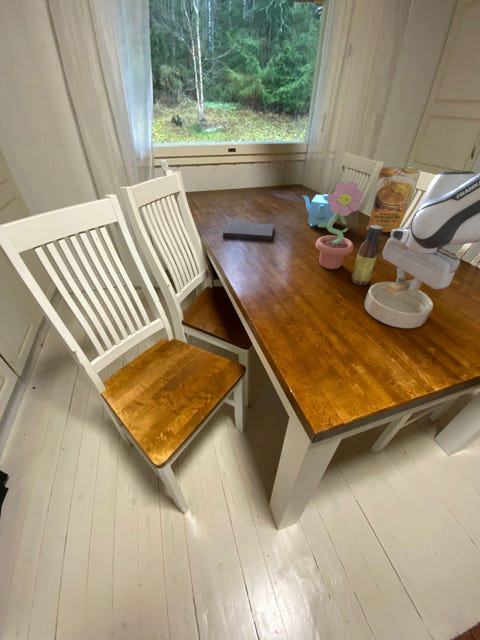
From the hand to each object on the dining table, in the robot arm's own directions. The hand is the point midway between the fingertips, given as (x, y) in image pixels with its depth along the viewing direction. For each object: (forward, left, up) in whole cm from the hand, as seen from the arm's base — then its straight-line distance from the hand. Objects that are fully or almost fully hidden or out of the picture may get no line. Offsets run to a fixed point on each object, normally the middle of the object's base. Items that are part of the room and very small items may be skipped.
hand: (404, 285), depth 79 cm
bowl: (0, 0, -9) cm, 9 cm away
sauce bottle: (+14, -12, -9) cm, 21 cm away
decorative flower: (+28, -18, -9) cm, 35 cm away
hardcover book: (+72, -27, -9) cm, 77 cm away
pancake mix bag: (+20, -71, -9) cm, 74 cm away
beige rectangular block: (0, 0, -2) cm, 2 cm away
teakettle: (+48, -59, -9) cm, 77 cm away
